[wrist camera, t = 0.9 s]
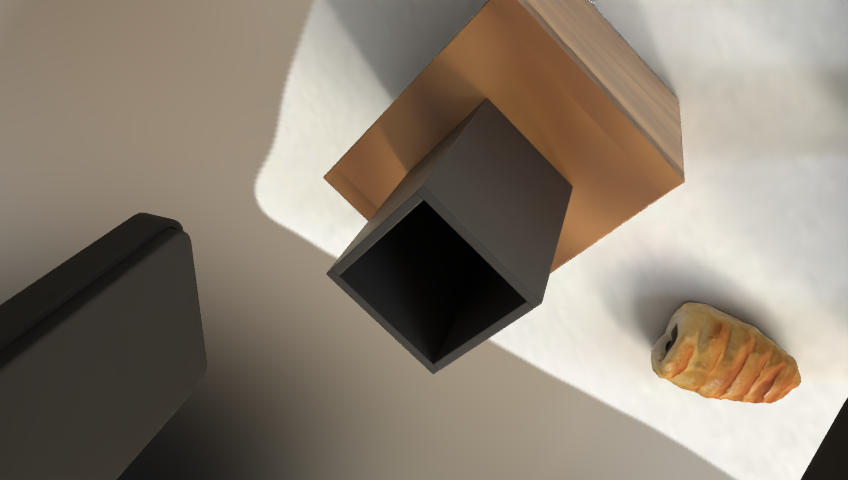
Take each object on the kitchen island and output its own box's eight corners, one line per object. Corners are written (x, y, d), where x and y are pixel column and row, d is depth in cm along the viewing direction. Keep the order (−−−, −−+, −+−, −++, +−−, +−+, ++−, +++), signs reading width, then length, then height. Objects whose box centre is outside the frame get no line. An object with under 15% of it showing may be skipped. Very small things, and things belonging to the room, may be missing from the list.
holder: (487, 96, 30) (422, 185, 22) (573, 186, 31) (542, 303, 23) (407, 173, 34) (325, 274, 26) (487, 252, 35) (433, 375, 26)
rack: (545, -49, 38) (503, -16, 28) (679, 100, 39) (685, 182, 30) (396, 108, 45) (322, 177, 36) (514, 227, 47) (475, 325, 37)
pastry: (817, 339, 44) (828, 376, 41) (766, 404, 48) (773, 443, 45) (682, 290, 46) (683, 322, 42) (642, 357, 49) (641, 392, 46)
